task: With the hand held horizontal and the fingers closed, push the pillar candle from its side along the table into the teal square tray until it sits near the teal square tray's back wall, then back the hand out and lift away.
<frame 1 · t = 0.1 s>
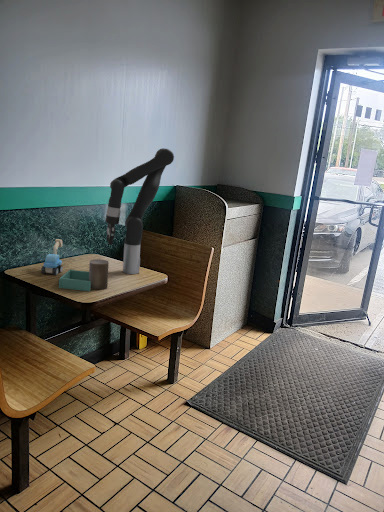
hand: (109, 242, 242), 17 cm above the table, tool pointing down, fingers open, 8 cm apart
toy excavator: (54, 271, 237), on the table
pillar candle: (97, 287, 220), on the table
teal square tray: (78, 284, 220), on the table
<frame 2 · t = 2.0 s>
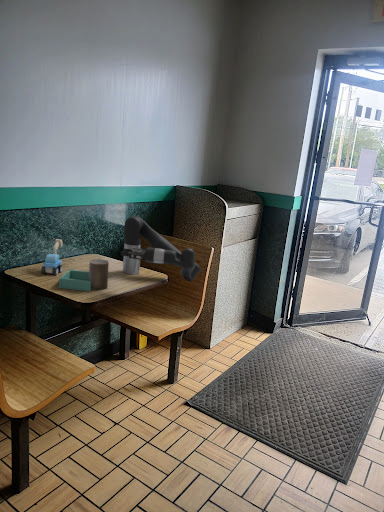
hand: (122, 251, 215), 20 cm above the table, tool horizontal, fingers open, 5 cm apart
nothing on the table moved.
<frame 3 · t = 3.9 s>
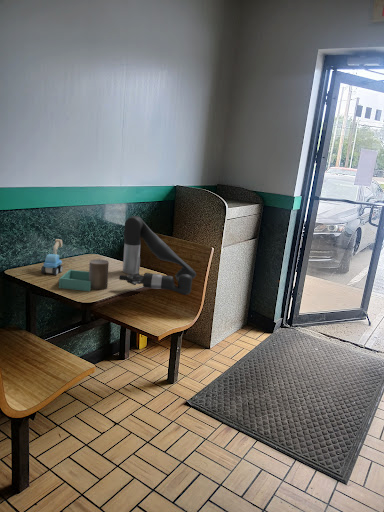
hand: (119, 277, 218), 6 cm above the table, tool horizontal, fingers closed
nothing on the table moved.
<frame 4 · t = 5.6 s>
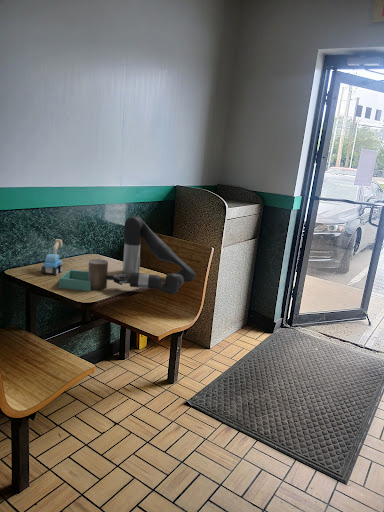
hand: (106, 277, 217), 6 cm above the table, tool horizontal, fingers closed
pillar candle: (97, 287, 220), on the table, touching gripper
everything else where it was.
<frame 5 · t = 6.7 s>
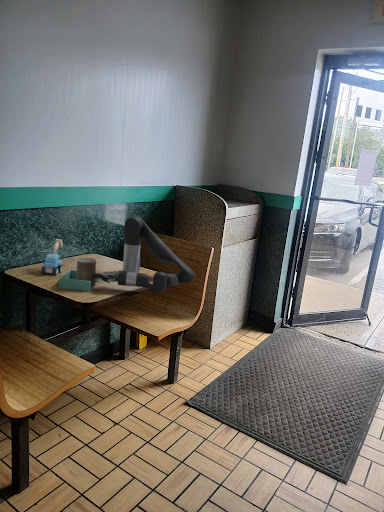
hand: (94, 275, 217), 6 cm above the table, tool horizontal, fingers closed
pillar candle: (85, 285, 220), on the table, touching gripper
everything else where it was.
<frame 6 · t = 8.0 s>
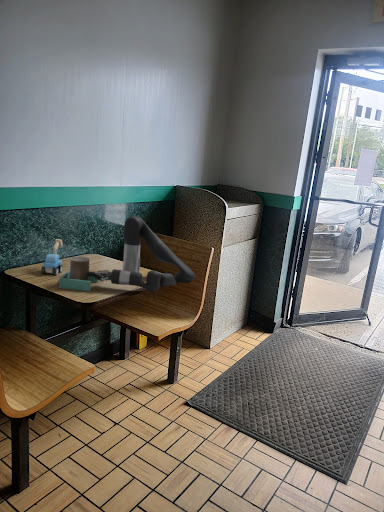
hand: (88, 273, 218), 7 cm above the table, tool horizontal, fingers closed
pillar candle: (78, 284, 221), on the table, touching gripper
everything else where it was.
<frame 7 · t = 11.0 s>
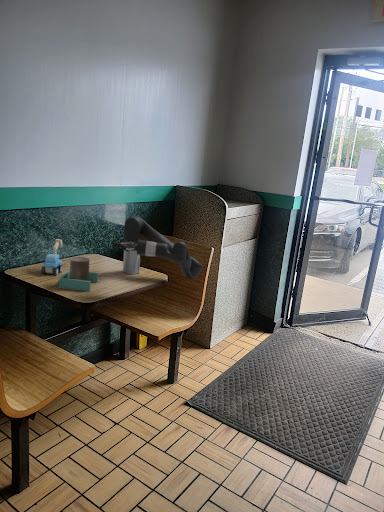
hand: (113, 244, 214), 23 cm above the table, tool horizontal, fingers closed
pillar candle: (78, 284, 221), on the table
everything else where it was.
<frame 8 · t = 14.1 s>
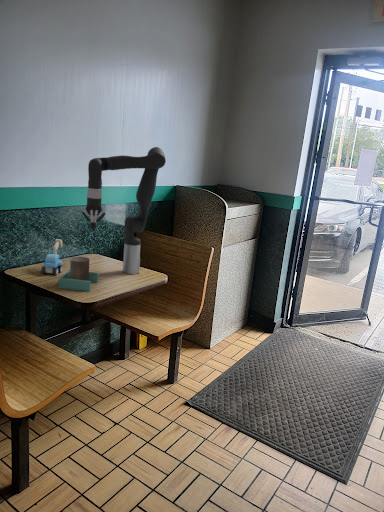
hand: (92, 229, 228), 27 cm above the table, tool pointing down, fingers closed
nothing on the table moved.
at the end: pillar candle 1.0 cm from the teal square tray (horizontally); pillar candle tilted 0° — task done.
